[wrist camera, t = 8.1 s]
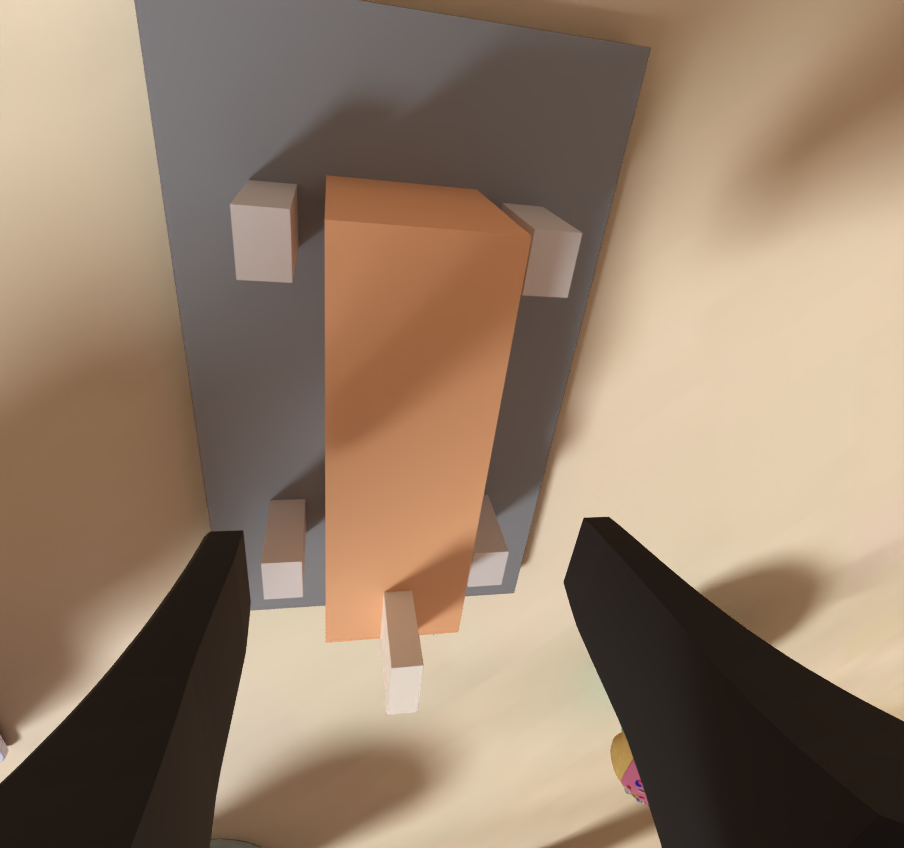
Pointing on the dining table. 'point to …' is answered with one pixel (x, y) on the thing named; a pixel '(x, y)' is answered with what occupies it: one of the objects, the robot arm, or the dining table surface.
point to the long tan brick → (410, 405)
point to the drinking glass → (230, 844)
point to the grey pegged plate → (303, 231)
